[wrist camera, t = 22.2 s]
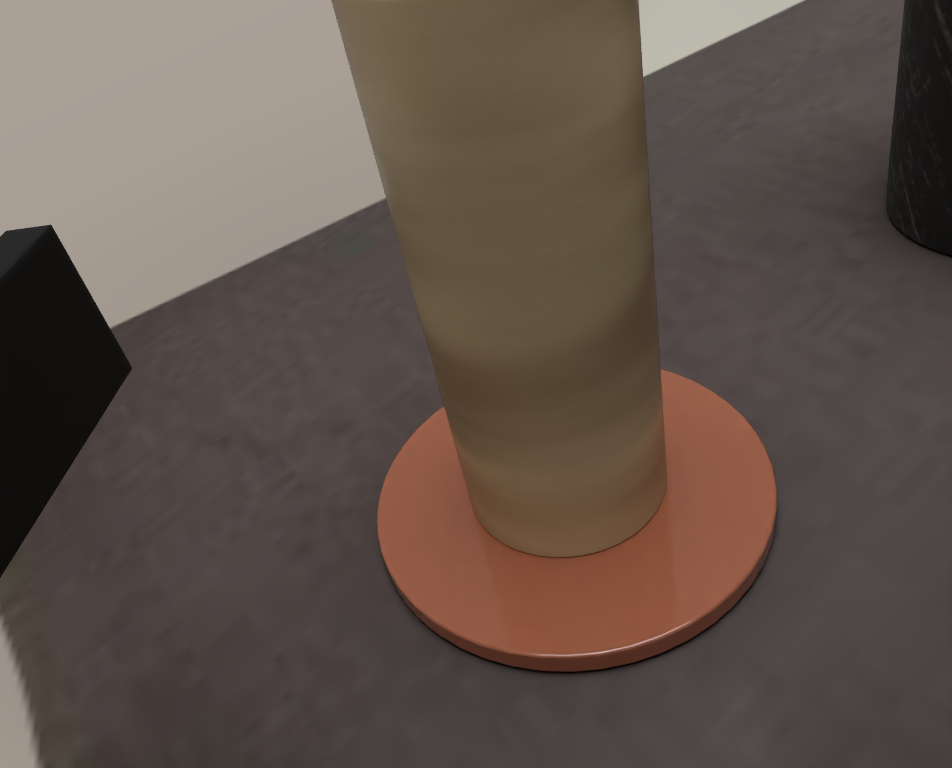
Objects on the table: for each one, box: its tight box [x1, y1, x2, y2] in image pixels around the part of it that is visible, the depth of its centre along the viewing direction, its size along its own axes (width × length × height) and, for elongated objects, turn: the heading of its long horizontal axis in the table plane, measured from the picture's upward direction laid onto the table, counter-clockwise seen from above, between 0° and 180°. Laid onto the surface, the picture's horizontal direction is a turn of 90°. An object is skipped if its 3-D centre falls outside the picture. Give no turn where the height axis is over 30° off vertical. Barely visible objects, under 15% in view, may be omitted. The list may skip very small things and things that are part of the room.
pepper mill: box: [332, 0, 667, 557], centre depth 17 cm, size 14×5×14 cm
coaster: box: [377, 369, 777, 672], centre depth 21 cm, size 10×10×1 cm
